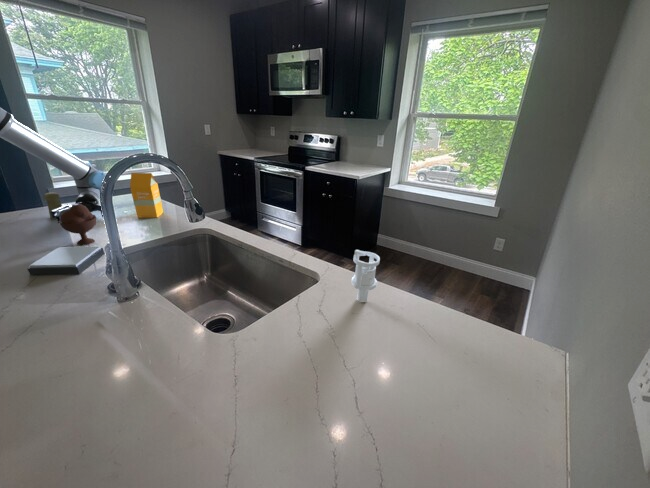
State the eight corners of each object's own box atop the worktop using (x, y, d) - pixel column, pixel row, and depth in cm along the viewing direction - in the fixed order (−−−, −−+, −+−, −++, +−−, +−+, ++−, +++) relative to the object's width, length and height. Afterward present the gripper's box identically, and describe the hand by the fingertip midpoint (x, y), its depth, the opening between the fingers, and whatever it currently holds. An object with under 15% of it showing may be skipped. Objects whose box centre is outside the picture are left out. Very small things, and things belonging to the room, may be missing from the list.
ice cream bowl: (99, 234, 120) (88, 198, 113) (105, 243, 113) (94, 205, 106) (65, 241, 113) (52, 203, 107) (70, 251, 106) (55, 211, 99)
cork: (46, 218, 134) (37, 194, 129) (59, 213, 139) (51, 190, 134) (58, 219, 133) (49, 195, 128) (70, 215, 138) (62, 191, 133)
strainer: (357, 290, 90) (362, 245, 84) (378, 298, 87) (384, 252, 80) (345, 300, 85) (349, 254, 79) (367, 310, 81) (372, 262, 75)
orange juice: (144, 212, 145) (135, 171, 136) (163, 212, 146) (155, 171, 137) (137, 217, 138) (126, 174, 129) (157, 217, 139) (148, 175, 130)
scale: (29, 275, 91) (25, 266, 90) (61, 254, 104) (58, 246, 102) (79, 274, 93) (76, 265, 91) (104, 253, 105) (102, 245, 104)
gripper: (123, 206, 138) (122, 221, 121) (53, 214, 126) (42, 231, 110) (119, 190, 135) (117, 203, 118) (47, 196, 123) (34, 212, 106)
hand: (81, 217), depth 114 cm, fingers open, 13 cm apart
